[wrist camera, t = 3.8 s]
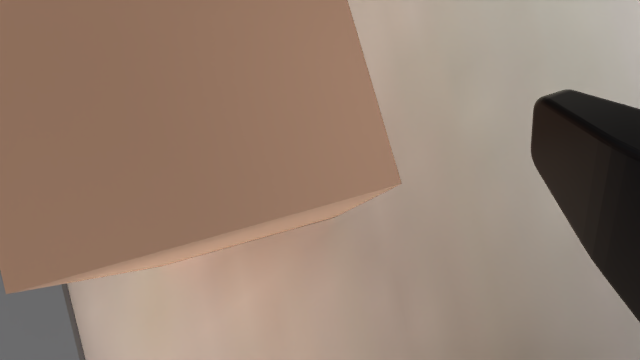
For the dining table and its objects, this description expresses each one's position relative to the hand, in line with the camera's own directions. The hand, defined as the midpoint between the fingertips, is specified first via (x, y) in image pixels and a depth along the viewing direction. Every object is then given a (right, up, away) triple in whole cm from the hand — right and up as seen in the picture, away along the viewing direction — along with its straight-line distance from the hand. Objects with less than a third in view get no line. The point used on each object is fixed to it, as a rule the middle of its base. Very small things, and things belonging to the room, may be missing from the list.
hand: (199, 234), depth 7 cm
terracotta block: (-1, +1, +10) cm, 10 cm away
